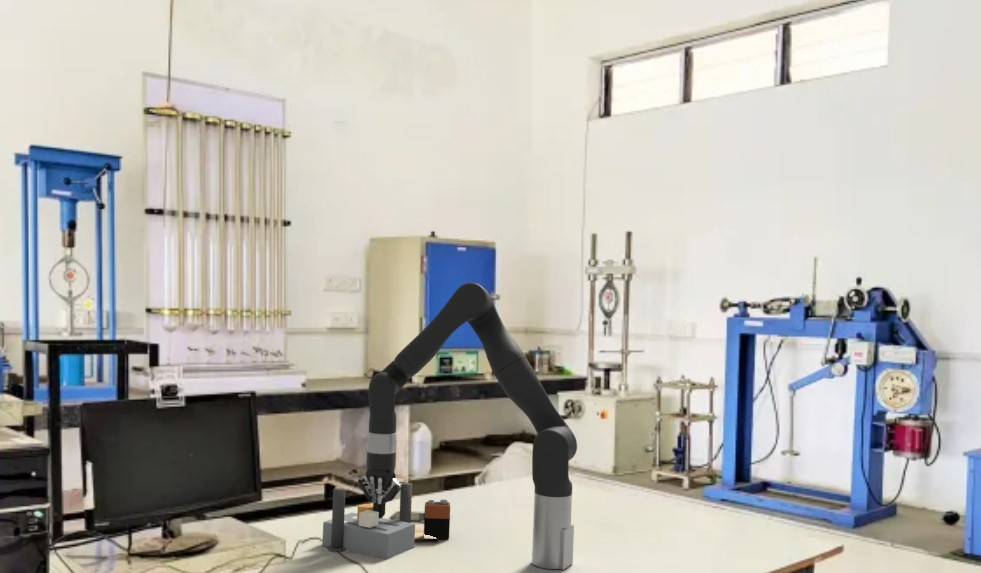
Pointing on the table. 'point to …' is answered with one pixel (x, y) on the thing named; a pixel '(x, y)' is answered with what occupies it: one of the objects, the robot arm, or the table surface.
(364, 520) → the white ridged block
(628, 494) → the table surface
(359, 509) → the toggle orange
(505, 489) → the table surface
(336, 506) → the post
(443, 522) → the battery
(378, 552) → the box
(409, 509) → the post
